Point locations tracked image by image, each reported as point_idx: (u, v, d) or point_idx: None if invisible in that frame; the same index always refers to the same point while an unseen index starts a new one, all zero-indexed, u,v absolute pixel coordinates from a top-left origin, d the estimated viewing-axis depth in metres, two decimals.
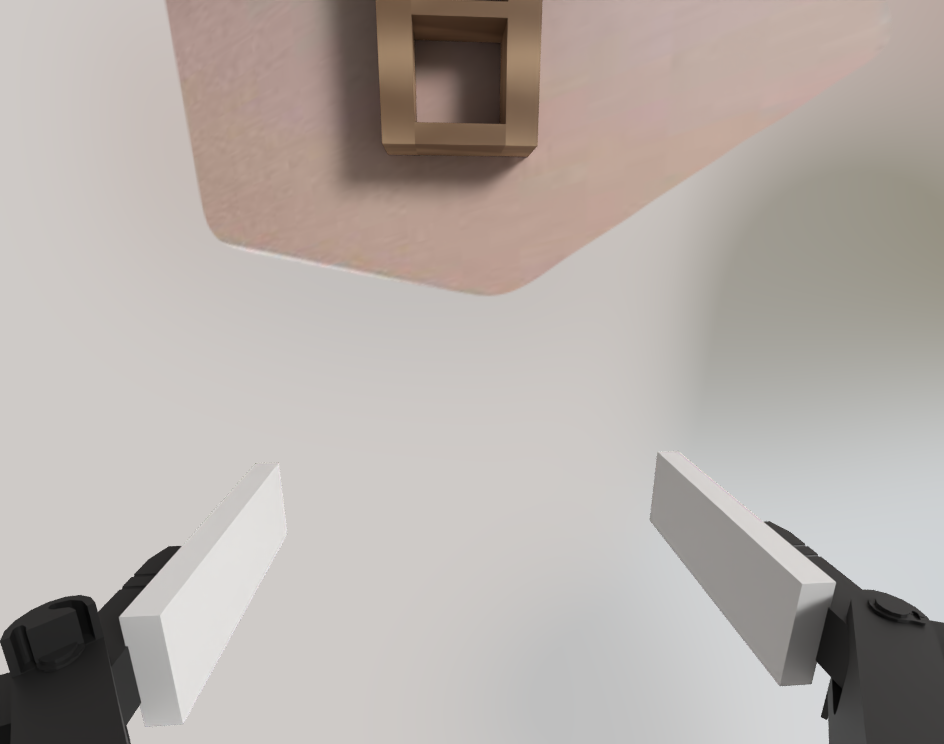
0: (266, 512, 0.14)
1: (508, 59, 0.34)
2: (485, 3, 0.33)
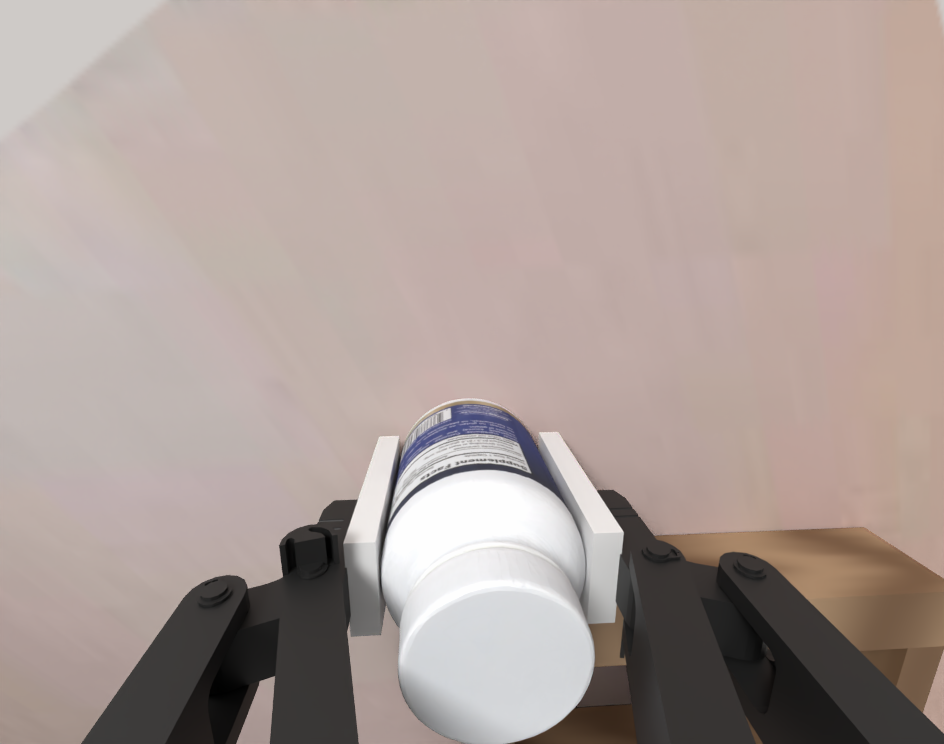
0: None
1: None
2: None
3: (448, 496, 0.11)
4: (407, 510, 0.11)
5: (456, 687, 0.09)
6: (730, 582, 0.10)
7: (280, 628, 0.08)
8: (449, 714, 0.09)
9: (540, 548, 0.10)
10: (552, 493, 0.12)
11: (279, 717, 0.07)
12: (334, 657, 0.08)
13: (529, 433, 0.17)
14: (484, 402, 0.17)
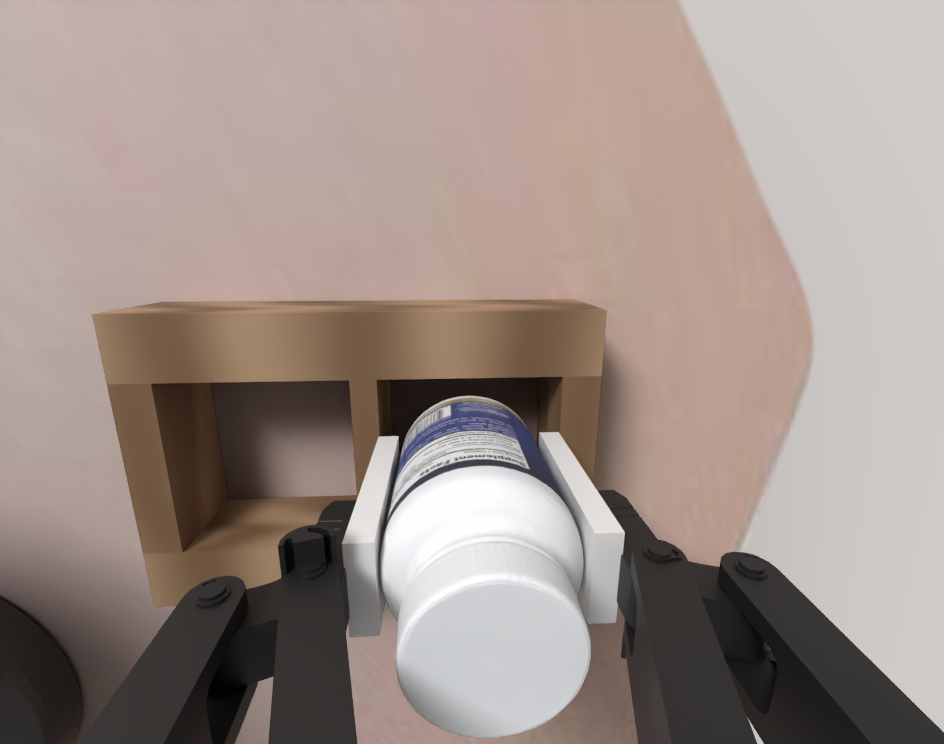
0: None
1: (448, 375, 0.17)
2: (356, 421, 0.17)
3: (446, 491, 0.11)
4: (406, 505, 0.11)
5: (454, 680, 0.09)
6: (731, 582, 0.10)
7: (278, 628, 0.08)
8: (447, 706, 0.09)
9: (538, 543, 0.11)
10: (550, 489, 0.12)
11: (277, 717, 0.07)
12: (332, 657, 0.08)
13: None
14: (484, 399, 0.17)
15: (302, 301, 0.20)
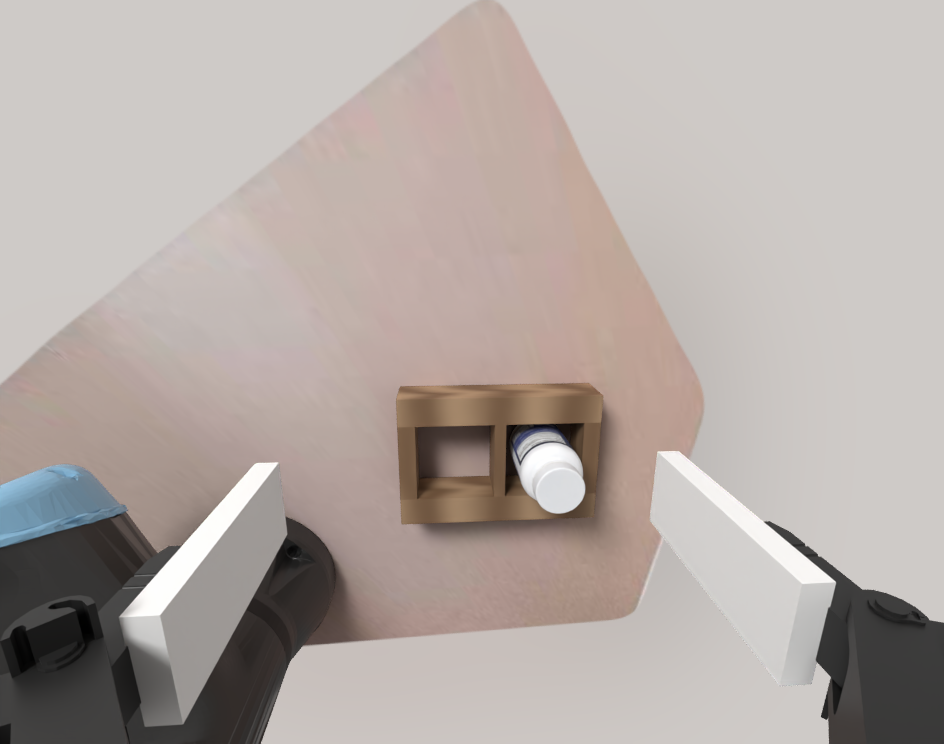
0: (266, 512, 0.14)
1: (536, 422, 0.40)
2: (496, 442, 0.40)
3: (543, 449, 0.37)
4: (530, 454, 0.37)
5: (550, 496, 0.35)
6: None
7: None
8: (547, 503, 0.35)
9: (570, 464, 0.37)
10: (573, 450, 0.38)
11: None
12: None
13: None
14: None
15: (463, 385, 0.42)
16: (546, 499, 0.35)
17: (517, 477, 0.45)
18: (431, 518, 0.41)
